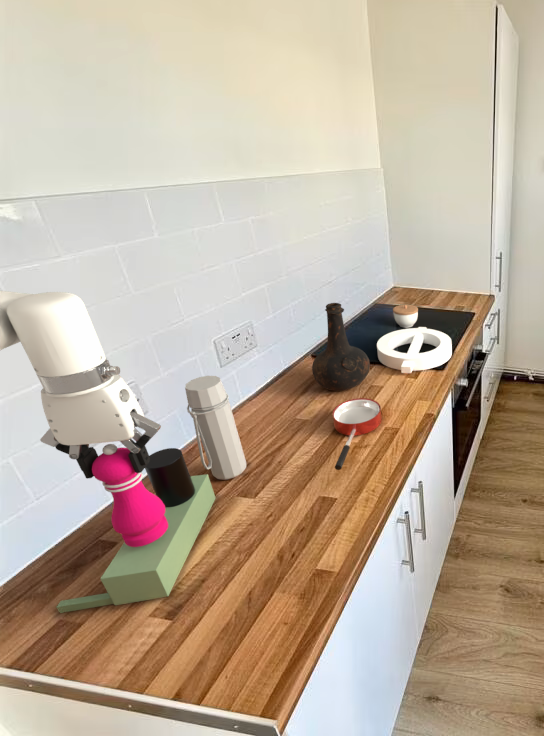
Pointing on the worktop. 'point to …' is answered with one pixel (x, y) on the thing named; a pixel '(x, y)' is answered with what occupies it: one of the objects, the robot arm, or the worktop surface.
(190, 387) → the water bottle
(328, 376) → the glass bottle
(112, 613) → the worktop surface
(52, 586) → the worktop surface
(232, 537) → the worktop surface
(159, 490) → the spice tin
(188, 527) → the riser
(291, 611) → the worktop surface
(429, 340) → the white circle with bar
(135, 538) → the pepper mill
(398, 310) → the trinket box
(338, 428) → the frying pan
